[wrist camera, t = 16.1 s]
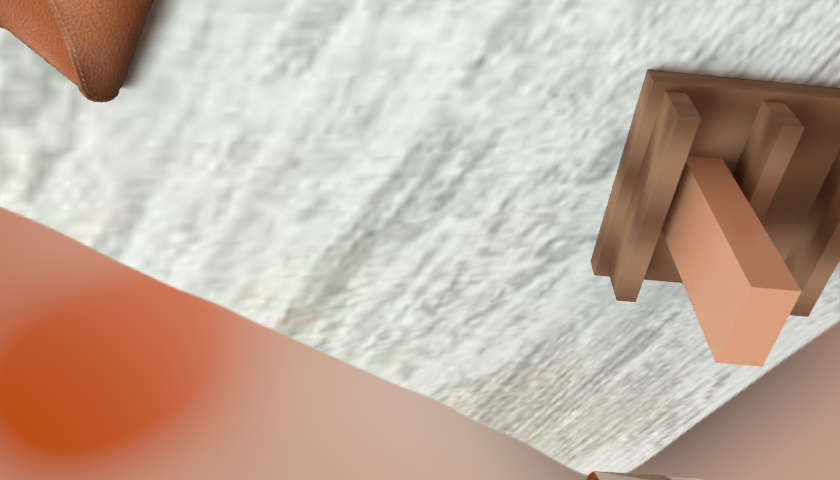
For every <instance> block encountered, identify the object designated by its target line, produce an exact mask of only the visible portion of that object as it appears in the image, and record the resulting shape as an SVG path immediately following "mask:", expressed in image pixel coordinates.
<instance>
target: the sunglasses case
mask: <svg viewBox="0 0 840 480" xmlns="http://www.w3.org/2000/svg"><path fill="white" fill-rule="evenodd" d="M152 2H153V0H0V27H1V28H4V29H7V30H8V31H9V32H11V33H12V34H13V35H14V36H15V37H17V38H18V39H19V40H21V41H22V42H23V43H24V44H26V45H27V46H28V47H29V48H31V49H32V50H33V51H34V52H35V53H36V54H38V55H39V56H41V57H42V58H43V59H44V60H45V61H47V62H48V63H50V64H51V65H52V66H53V67H55V68H56V69H57V70H58V71H59V72H61V73H62V74H63V75H64V76H66V77H67V78H68V79H69V80H71V81H72V82H73V83H74V84H76V85H77V86H78V87H79V90H80V92H81V93H82V94H83V95H84V96H85V97H86V98H87V99H88V100H91V101H94V102H108V101H111V100H113V99H114V98H115V97H116V96H117V95H118V93H119V90H120V88H121V86H122V83H123V80H124V78H125V75H126V73H127V71H128V68H129V65H130V62H131V59H132V57H133V54H134V51H135V48H136V45H137V42H138V39H139V36H140V34H141V31H142V28H143V25H144V23H145V19H146V17H147V14H148V12H149V9H150V7H151V4H152Z"/></svg>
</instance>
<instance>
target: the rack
mask: <svg viewBox="0 0 840 480" xmlns="http://www.w3.org/2000/svg"><path fill="white" fill-rule="evenodd" d="M687 156H695V157H706V158H716V159H723V161H724V162H725V164H726V166H727V167H728V169H729V171H730V172H731V174H732V176H733V177H734V179H735V181H736V182H737V184H738V186H739V187H740V189H741V191H742V192H743V194H744V196H745V197H746V199H747V201H748V202H749V204H750V206H751V207H752V209H753V211H754V212H755V214H756V216H757V217H758V219H759V221H760V222H761V224H762V226H763V227H764V229H765V231H766V232H767V234H768V236H769V237H770V239H771V241H772V242H773V244H774V246H775V247H776V249H777V251H778V252H779V254H780V256H781V257H782V259H783V261H784V262H785V264H786V266H787V267H788V269H789V271H790V272H791V274H792V276H793V277H794V279H795V281H796V282H797V284H798V286H799V287H800V289H801V291H802V292H801V294H800V296H799V298H798V300H797V301H796V303H795V305H794V307H793V309H792V311H791V313H790V315H795V316H807V317H808V316H809V314H810V312H811V311H812V309H813V307H814V305H815V303H816V302H817V300H818V298H819V296H820V294H821V293H822V291H823V289H824V287H825V285H826V283H827V282H828V280H829V278H830V276H831V274H832V273H833V271H834V269H835V267H836V265H837V264H838V262H839V260H840V89H837V88H827V87H817V86H807V85H796V84H786V83H776V82H766V81H755V80H745V79H735V78H725V77H714V76H704V75H694V74H684V73H674V72H663V71H653V70H647V73H646V76H645V80H644V83H643V86H642V90H641V93H640V97H639V100H638V103H637V107H636V110H635V113H634V117H633V120H632V124H631V127H630V130H629V134H628V137H627V140H626V144H625V147H624V151H623V154H622V157H621V161H620V164H619V167H618V171H617V174H616V178H615V181H614V184H613V188H612V191H611V194H610V198H609V201H608V205H607V208H606V211H605V215H604V218H603V221H602V225H601V228H600V232H599V235H598V238H597V242H596V245H595V248H594V252H593V255H592V259H591V264H592V268H593V272H594V275H598V276H610V279H611V282H612V286H613V289H614V293H615V296H616V299H617V300H618V301H630V302H636V299H637V296H638V294H639V291H640V288H641V285H642V282H643V280H644V279H645V280H656V281H668V282H680V283H683V282H682V279H681V277H680V274H679V272H678V269H677V267H676V264H675V262H674V260H673V257H672V255H671V252H670V250H669V247H668V245H667V243H666V240H665V238H664V235H663V233H662V230H661V229H662V226H663V224H664V221H665V218H666V215H667V212H668V210H669V207H670V204H671V201H672V198H673V196H674V193H675V190H676V187H677V184H678V182H679V179H680V176H681V173H682V170H683V168H684V165H685V162H686V159H687Z"/></svg>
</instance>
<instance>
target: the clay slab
mask: <svg viewBox="0 0 840 480" xmlns="http://www.w3.org/2000/svg"><path fill="white" fill-rule="evenodd" d="M661 230H662V233H663V235H664V238H665V240H666V243H667V245H668V247H669V250H670V252H671V255H672V257H673V260H674V262H675V264H676V267H677V269H678V272H679V274H680V277H681V279H682V282H683V284H684V286H685V289H686V291H687V294H688V296H689V299H690V301H691V304H692V306H693V308H694V311H695V313H696V316H697V318H698V321H699V323H700V326H701V328H702V330H703V333H704V335H705V338H706V340H707V343H708V345H709V348H710V350H711V352H712V355H713V357H714V360H715V362H716V363H728V364H741V365H753V366H763V364H764V362H765V360H766V358H767V356H768V354H769V353H770V351H771V349H772V347H773V345H774V343H775V341H776V339H777V337H778V335H779V334H780V332H781V330H782V328H783V326H784V324H785V322H786V320H787V318H788V317H789V315H790V313H791V311H792V309H793V307H794V305H795V303H796V301H797V300H798V298H799V296H800V294H801V292H802V291H801V289H800V287H799V286H798V284H797V282H796V281H795V279H794V277H793V276H792V274H791V272H790V271H789V269H788V267H787V266H786V264H785V262H784V261H783V259H782V257H781V256H780V254H779V252H778V251H777V249H776V247H775V246H774V244H773V242H772V241H771V239H770V237H769V236H768V234H767V232H766V231H765V229H764V227H763V226H762V224H761V222H760V221H759V219H758V217H757V216H756V214H755V212H754V211H753V209H752V207H751V206H750V204H749V202H748V201H747V199H746V197H745V196H744V194H743V192H742V191H741V189H740V187H739V186H738V184H737V182H736V181H735V179H734V177H733V176H732V174H731V172H730V171H729V169H728V167H727V166H726V164H725V162H724V161H723V159H716V158H706V157H695V156H687V159H686V162H685V165H684V168H683V170H682V173H681V176H680V179H679V182H678V184H677V187H676V190H675V193H674V196H673V198H672V201H671V204H670V207H669V210H668V212H667V215H666V218H665V221H664V224H663V226H662V229H661Z"/></svg>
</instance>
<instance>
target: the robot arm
mask: <svg viewBox="0 0 840 480" xmlns="http://www.w3.org/2000/svg"><path fill="white" fill-rule="evenodd" d="M586 480H703V479H692V478H674V477H666V476H663V475H647V474H630V473H614V472H597V471H593V472H592V473H590V474H589V475H588V477H587V479H586Z"/></svg>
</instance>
